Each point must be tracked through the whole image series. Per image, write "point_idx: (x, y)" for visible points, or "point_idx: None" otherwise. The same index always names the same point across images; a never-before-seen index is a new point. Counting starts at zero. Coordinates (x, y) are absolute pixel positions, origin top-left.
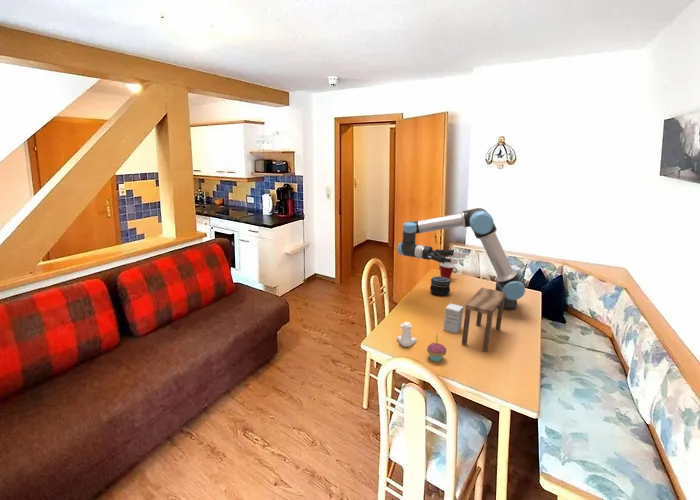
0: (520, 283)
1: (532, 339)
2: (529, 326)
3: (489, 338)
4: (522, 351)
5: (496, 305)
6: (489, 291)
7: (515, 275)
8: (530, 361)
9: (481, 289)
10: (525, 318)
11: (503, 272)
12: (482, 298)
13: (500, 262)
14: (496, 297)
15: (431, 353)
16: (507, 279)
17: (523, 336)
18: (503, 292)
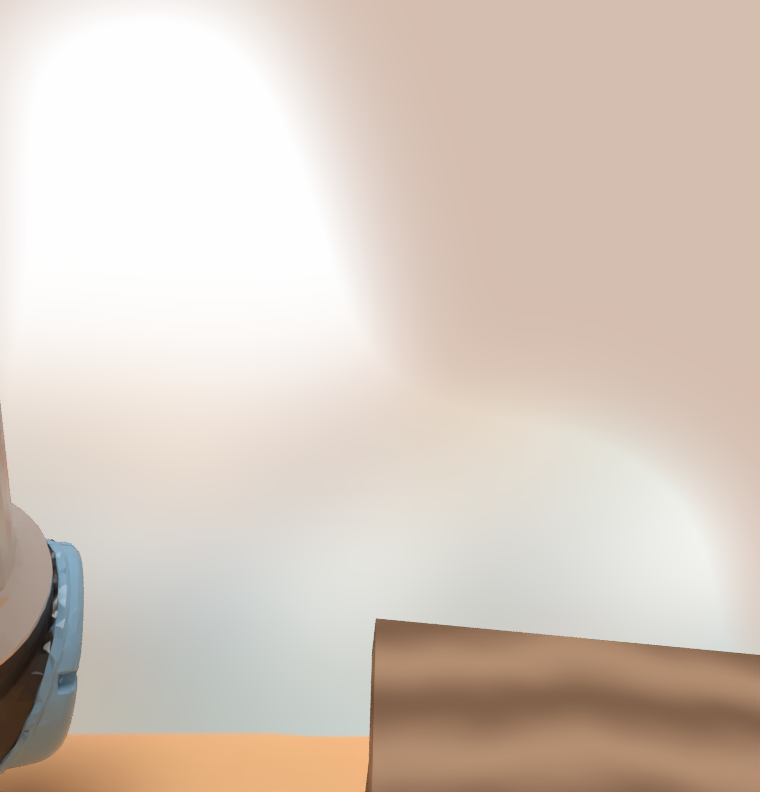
0: (71, 544)
1: (368, 745)
2: (172, 761)
3: None
4: None
5: (738, 657)
6: (455, 716)
7: (17, 507)
8: None
9: (455, 789)
10: (23, 786)
11: (7, 540)
12: (731, 748)
13: (2, 433)
14: (571, 661)
15: None
16: (48, 581)
17: (357, 785)
18: (387, 629)
